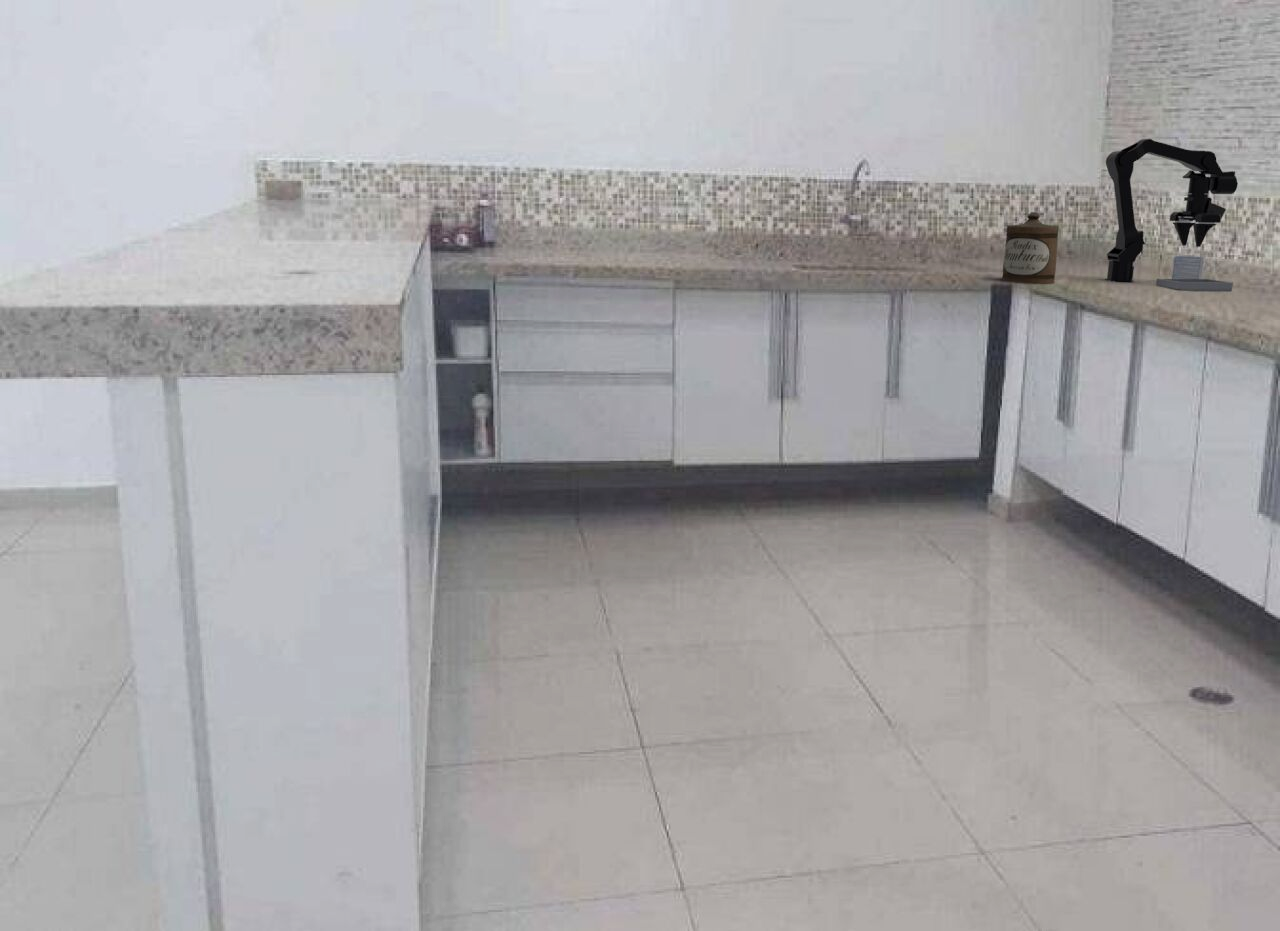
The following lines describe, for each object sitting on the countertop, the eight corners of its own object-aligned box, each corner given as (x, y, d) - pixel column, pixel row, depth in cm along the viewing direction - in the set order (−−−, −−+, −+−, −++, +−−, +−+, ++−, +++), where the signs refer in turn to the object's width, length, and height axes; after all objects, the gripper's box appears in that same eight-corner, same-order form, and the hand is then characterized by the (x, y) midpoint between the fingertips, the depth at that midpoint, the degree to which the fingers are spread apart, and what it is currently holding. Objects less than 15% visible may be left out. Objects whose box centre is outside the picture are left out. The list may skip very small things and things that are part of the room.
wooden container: (994, 287, 322) (1000, 211, 316) (1011, 284, 333) (1017, 211, 328) (1044, 290, 313) (1052, 212, 308) (1060, 287, 325) (1068, 212, 319)
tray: (1178, 290, 315) (1179, 282, 315) (1155, 287, 328) (1156, 278, 327) (1231, 291, 316) (1232, 282, 315) (1207, 287, 329) (1208, 279, 328)
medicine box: (1200, 284, 338) (1204, 256, 336) (1198, 285, 335) (1202, 257, 333) (1173, 283, 343) (1177, 255, 341) (1170, 284, 339) (1174, 256, 337)
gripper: (1241, 194, 322) (1234, 247, 325) (1206, 194, 340) (1199, 244, 344) (1205, 194, 321) (1198, 247, 325) (1172, 193, 339) (1165, 244, 343)
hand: (1191, 246), depth 334 cm, fingers open, 8 cm apart
